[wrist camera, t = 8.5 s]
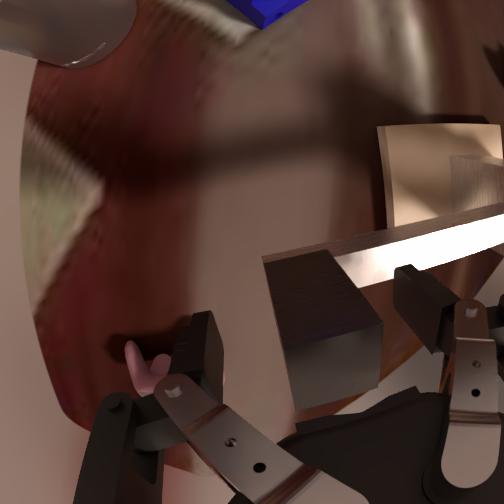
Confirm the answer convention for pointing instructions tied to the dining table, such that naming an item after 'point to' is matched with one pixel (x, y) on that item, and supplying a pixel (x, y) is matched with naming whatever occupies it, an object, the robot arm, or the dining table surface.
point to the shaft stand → (440, 170)
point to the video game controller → (146, 369)
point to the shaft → (357, 297)
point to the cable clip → (265, 9)
